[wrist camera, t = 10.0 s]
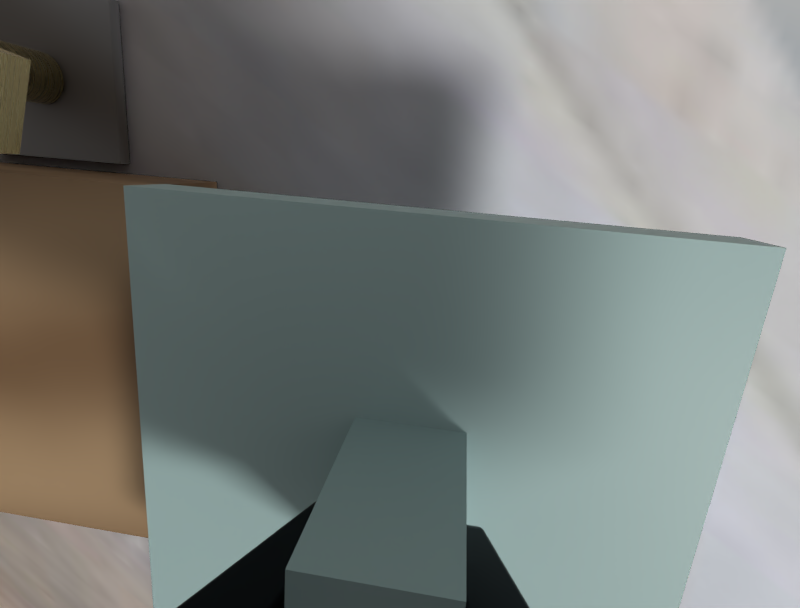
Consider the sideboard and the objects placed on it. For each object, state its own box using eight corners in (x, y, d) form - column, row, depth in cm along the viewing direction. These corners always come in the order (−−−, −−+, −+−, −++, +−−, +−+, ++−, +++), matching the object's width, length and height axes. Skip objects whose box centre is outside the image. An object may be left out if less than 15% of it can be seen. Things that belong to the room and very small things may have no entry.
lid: (617, 694, 11) (721, 1052, 7) (186, 610, 12) (20, 869, 8) (741, 237, 8) (1073, 315, 4) (166, 183, 9) (-116, 194, 5)
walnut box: (223, 469, 17) (164, 541, 14) (-27, 429, 18) (-137, 487, 15) (212, 6, 13) (126, -50, 10) (-106, -10, 14) (-280, -64, 11)
